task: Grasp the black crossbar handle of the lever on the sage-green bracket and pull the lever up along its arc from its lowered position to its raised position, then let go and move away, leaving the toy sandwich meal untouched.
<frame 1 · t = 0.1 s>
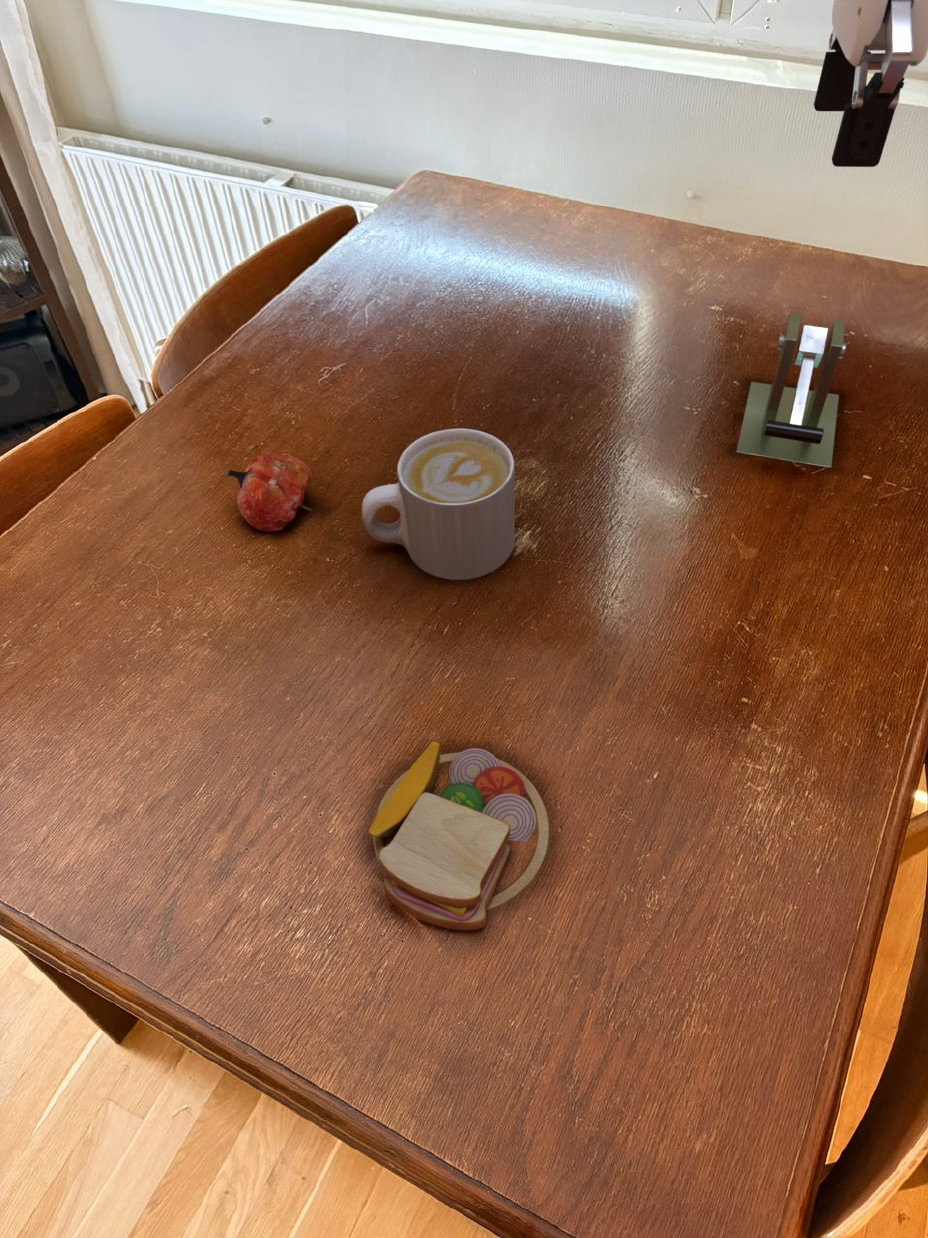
hand: (843, 135, 67), 30 cm above the table, tool pointing down, fingers open, 9 cm apart
coffee mug: (442, 549, 84), on the table
toy sandwich meal: (462, 845, 64), on the table
pomegranate: (285, 519, 87), on the table
bracket: (786, 431, 92), on the table
lever: (803, 385, 83), point 8 cm above the table, hinge at -25.0°
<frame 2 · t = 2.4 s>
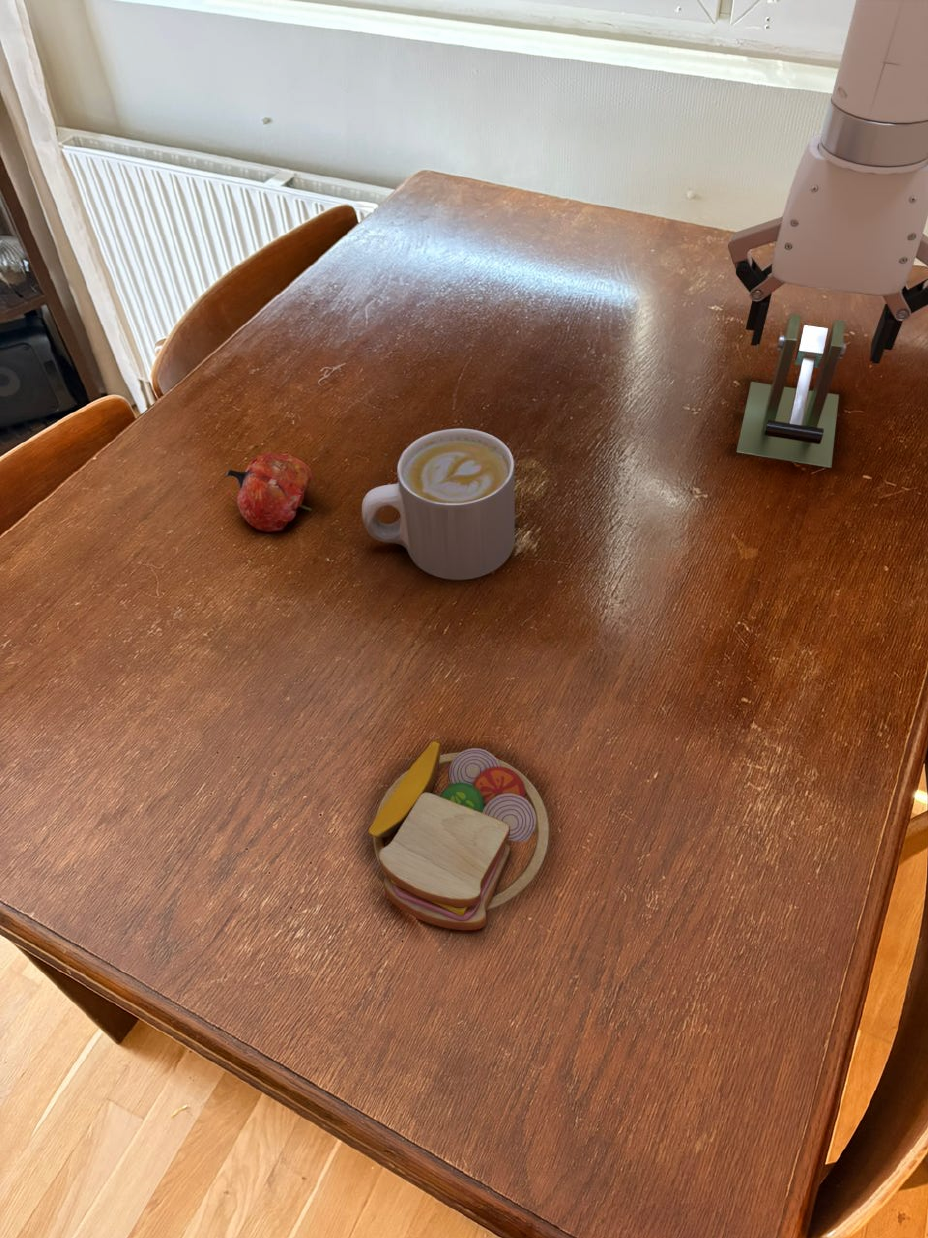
hand: (814, 345, 76), 15 cm above the table, tool pointing down, fingers open, 9 cm apart
nothing on the table moved.
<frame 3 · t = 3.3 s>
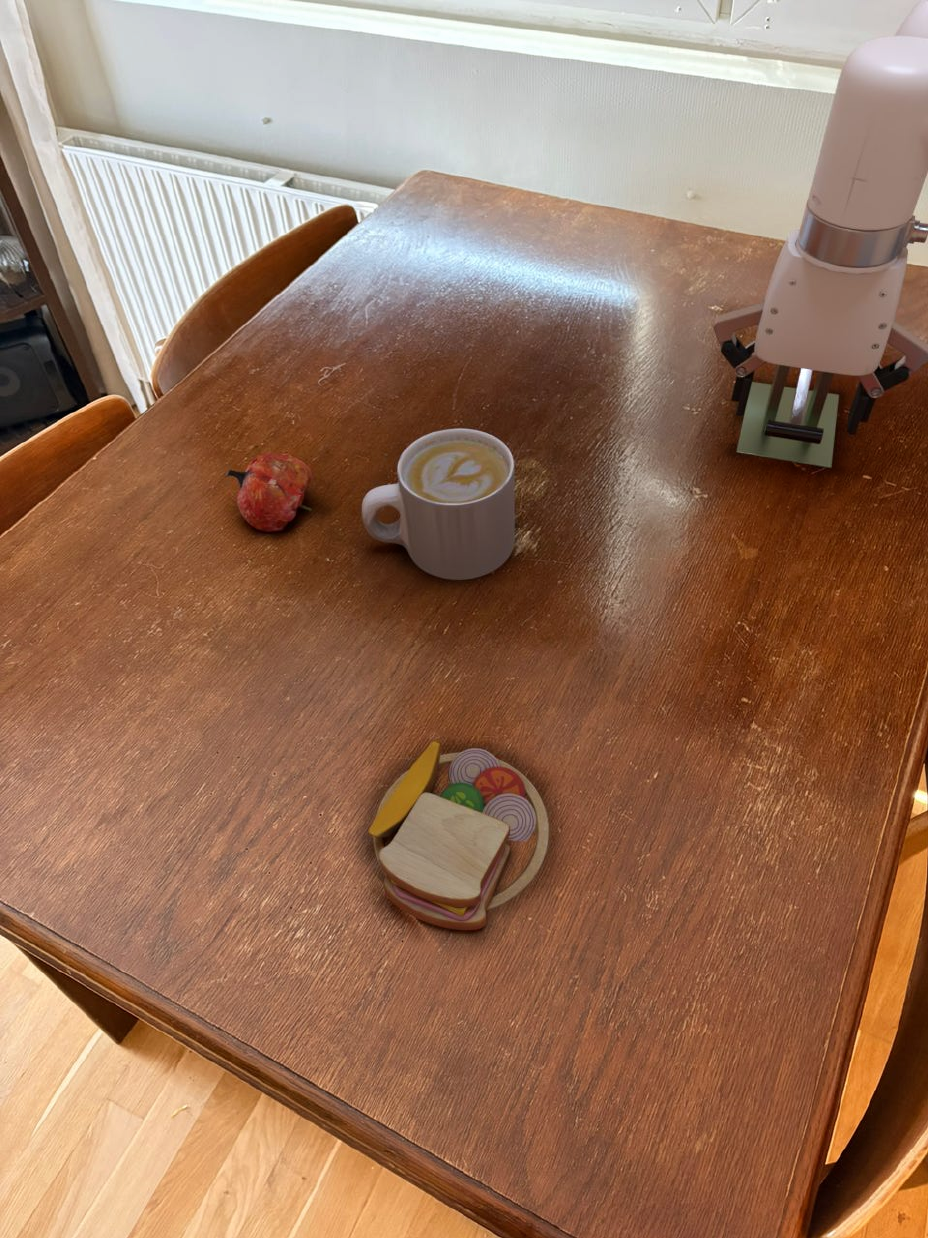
hand: (795, 416, 81), 8 cm above the table, tool pointing down, fingers open, 9 cm apart
nothing on the table moved.
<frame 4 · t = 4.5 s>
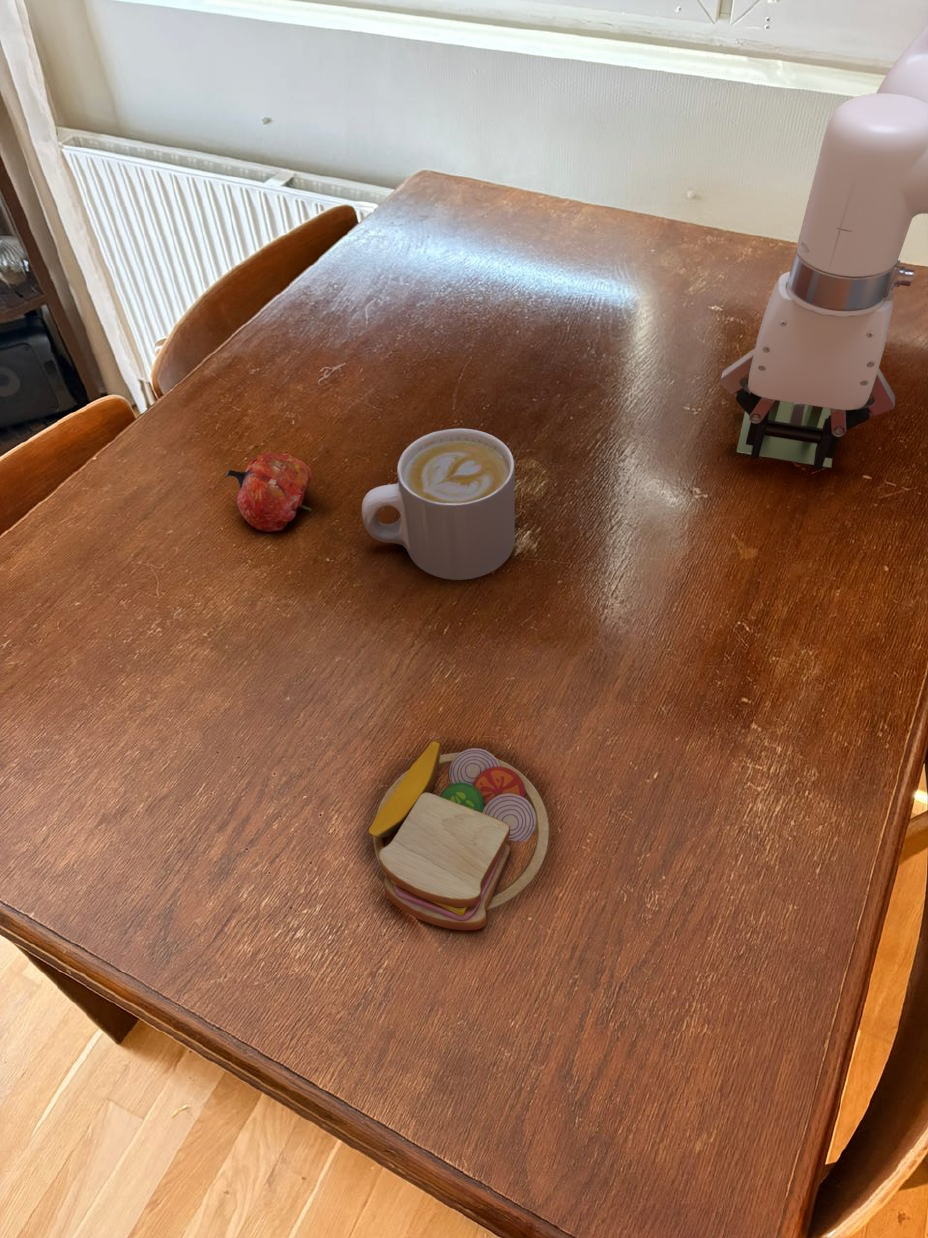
hand: (786, 453, 84), 4 cm above the table, tool pointing down, fingers closed on lever, 5 cm apart
lever: (803, 385, 83), point 8 cm above the table, hinge at -25.0°, touching gripper
everything else where it was.
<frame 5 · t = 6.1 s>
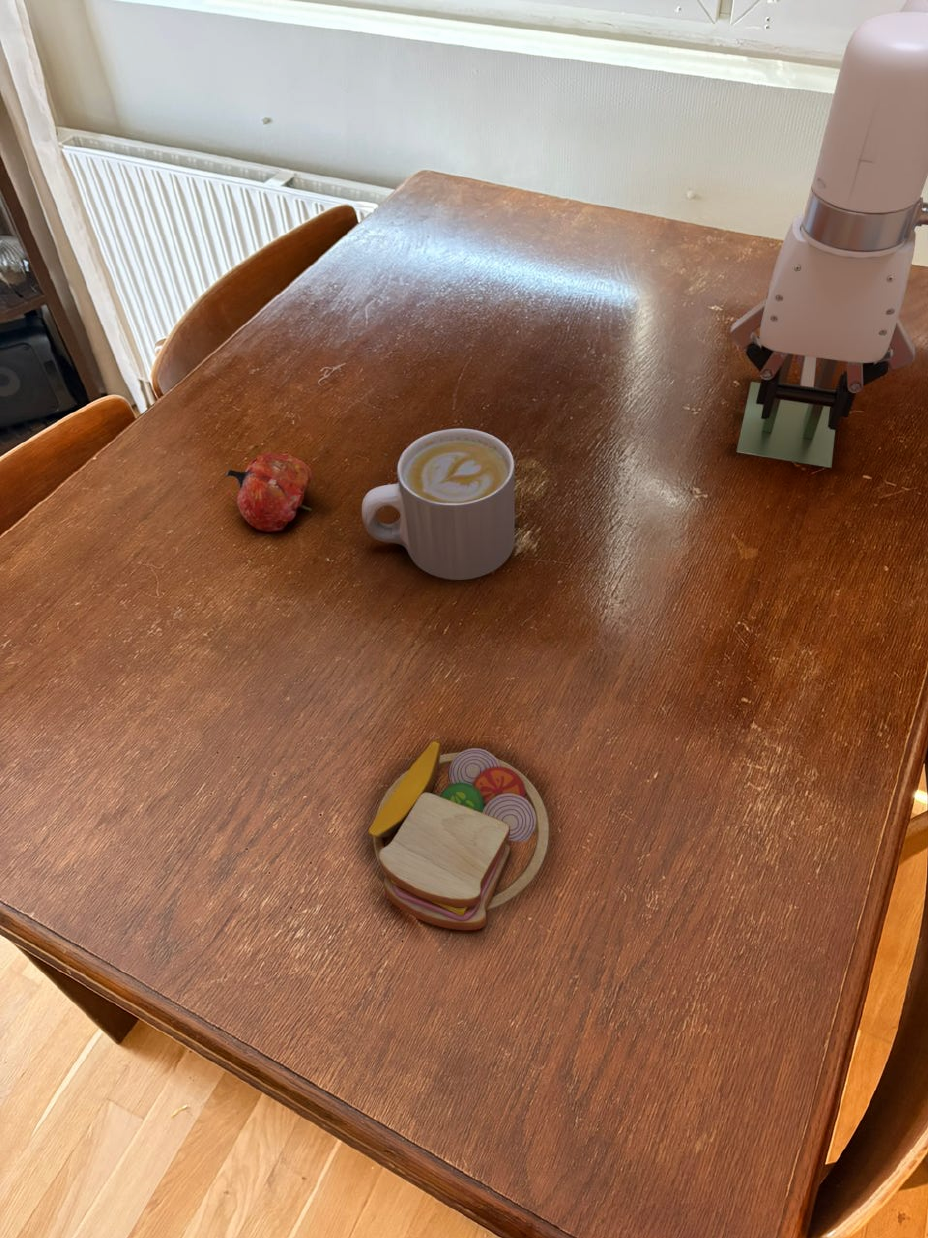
hand: (799, 413, 80), 9 cm above the table, tool pointing down, fingers closed on lever, 5 cm apart
lever: (808, 367, 82), point 10 cm above the table, hinge at 5.6°, touching gripper
everything else where it was.
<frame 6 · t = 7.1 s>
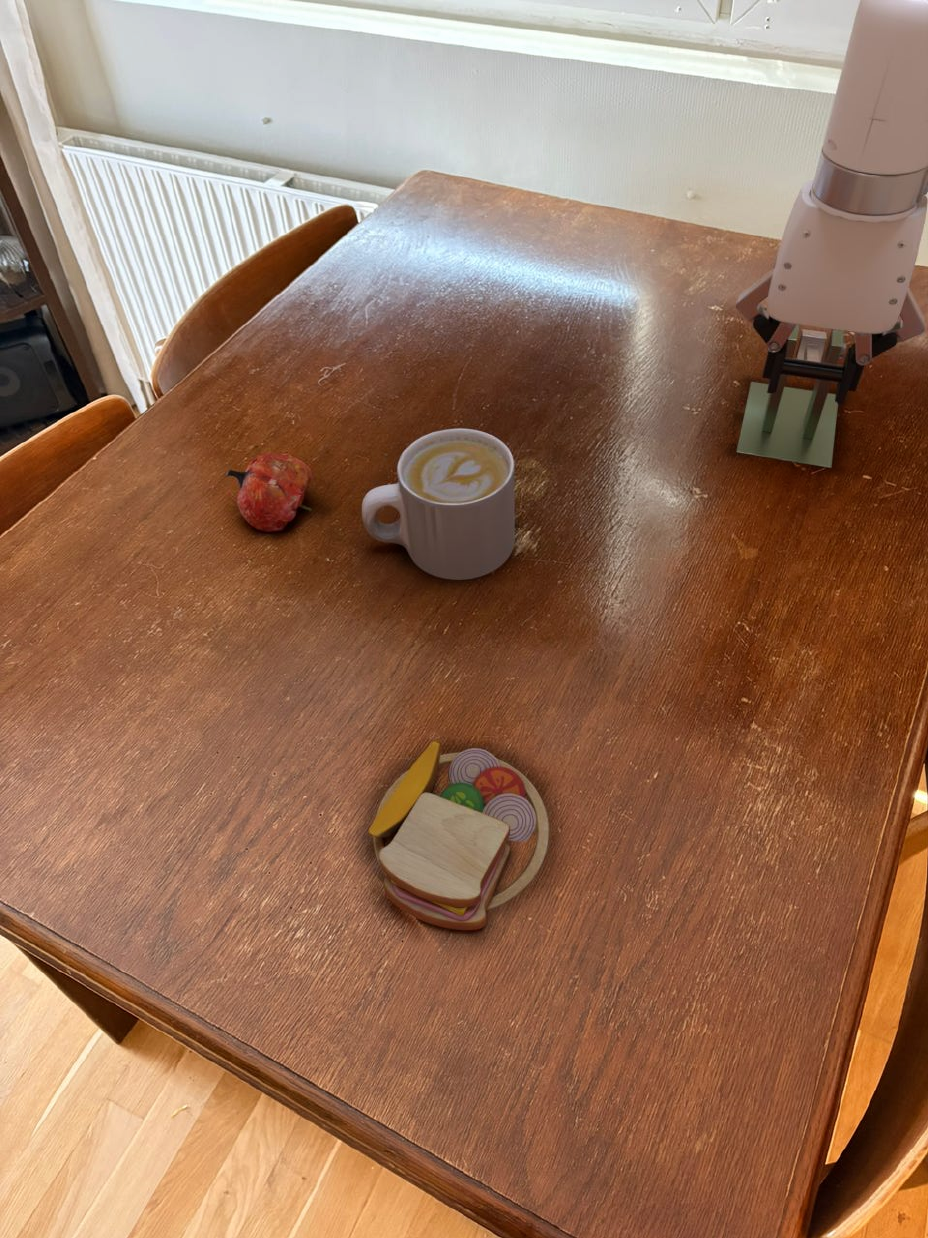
hand: (806, 387, 79), 11 cm above the table, tool pointing down, fingers closed on lever, 5 cm apart
lever: (811, 356, 81), point 11 cm above the table, hinge at 19.9°, touching gripper
everything else where it was.
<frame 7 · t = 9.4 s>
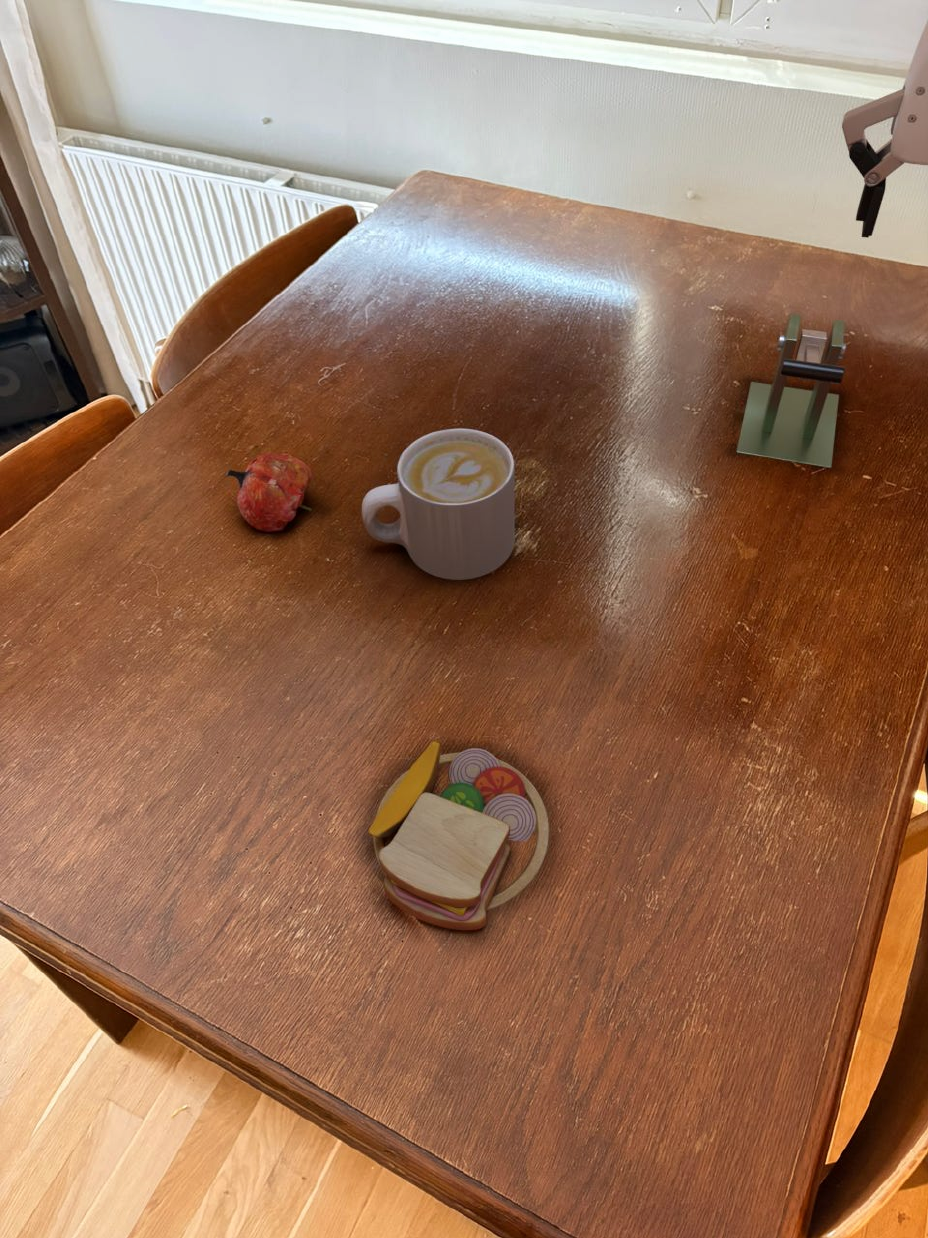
lever: (811, 357, 81), point 11 cm above the table, hinge at 19.3°
everything else where it was.
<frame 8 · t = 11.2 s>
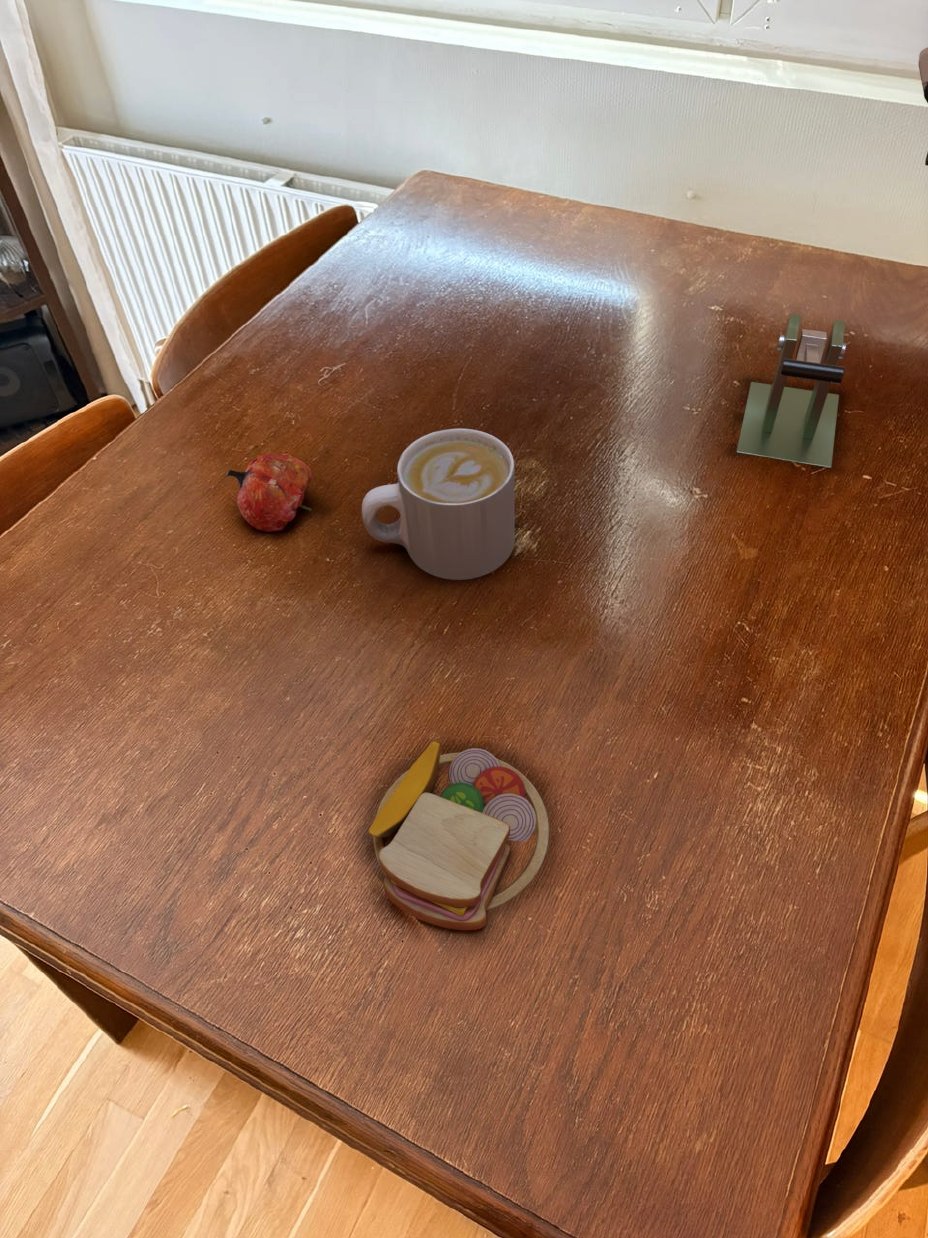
nothing on the table moved.
at the end: lever at +19° (first picture: -25°); lever reached +21° during the clip, +19° at the end; toy sandwich meal moved 0.2 cm from its start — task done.
